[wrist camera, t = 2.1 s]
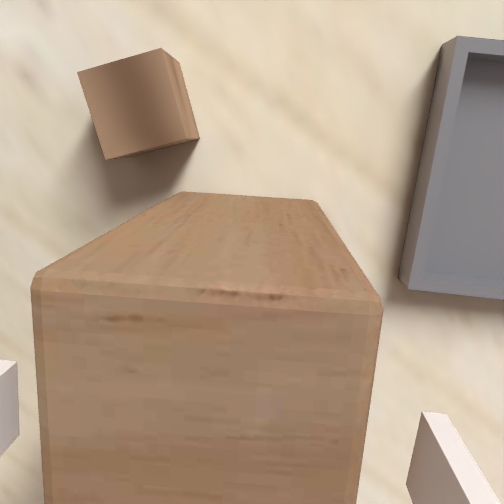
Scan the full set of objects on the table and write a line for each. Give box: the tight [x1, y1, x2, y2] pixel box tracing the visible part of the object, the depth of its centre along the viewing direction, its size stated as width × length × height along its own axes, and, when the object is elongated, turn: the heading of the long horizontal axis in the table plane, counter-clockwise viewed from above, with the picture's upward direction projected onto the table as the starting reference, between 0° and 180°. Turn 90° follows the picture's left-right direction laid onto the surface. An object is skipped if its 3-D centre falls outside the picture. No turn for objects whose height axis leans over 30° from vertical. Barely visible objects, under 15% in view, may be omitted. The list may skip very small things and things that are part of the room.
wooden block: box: [31, 192, 383, 504], centre depth 23 cm, size 10×10×20 cm
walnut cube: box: [77, 48, 200, 160], centre depth 28 cm, size 5×5×5 cm
